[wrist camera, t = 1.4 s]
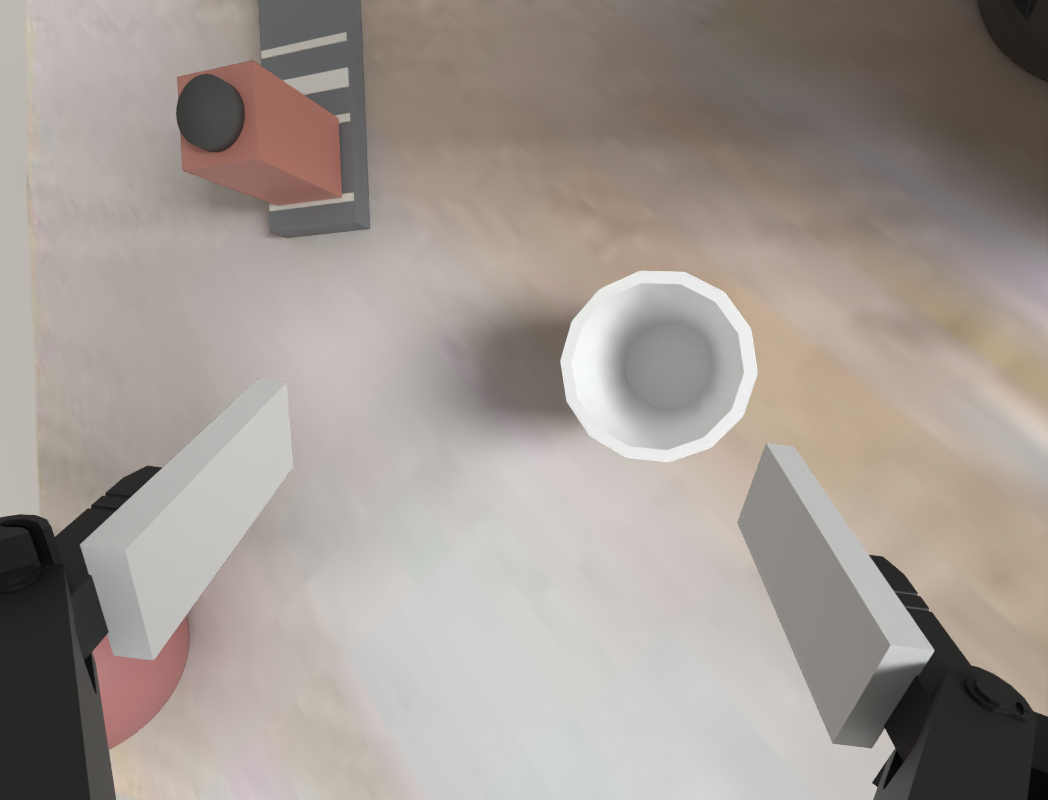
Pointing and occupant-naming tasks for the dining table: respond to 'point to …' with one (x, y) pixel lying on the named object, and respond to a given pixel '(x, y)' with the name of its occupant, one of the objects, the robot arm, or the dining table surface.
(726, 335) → the foam cup
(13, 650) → the robot arm
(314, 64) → the track
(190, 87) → the plug
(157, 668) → the balloon
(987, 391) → the dining table surface
